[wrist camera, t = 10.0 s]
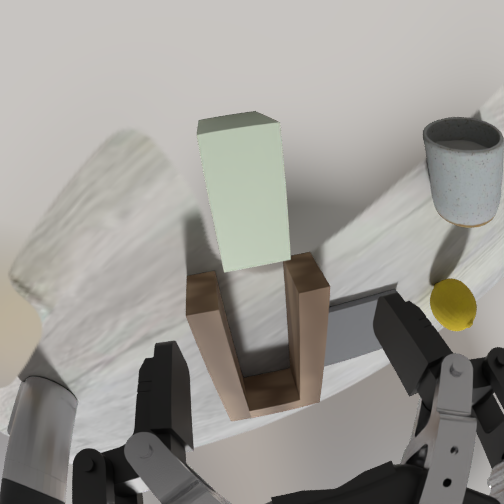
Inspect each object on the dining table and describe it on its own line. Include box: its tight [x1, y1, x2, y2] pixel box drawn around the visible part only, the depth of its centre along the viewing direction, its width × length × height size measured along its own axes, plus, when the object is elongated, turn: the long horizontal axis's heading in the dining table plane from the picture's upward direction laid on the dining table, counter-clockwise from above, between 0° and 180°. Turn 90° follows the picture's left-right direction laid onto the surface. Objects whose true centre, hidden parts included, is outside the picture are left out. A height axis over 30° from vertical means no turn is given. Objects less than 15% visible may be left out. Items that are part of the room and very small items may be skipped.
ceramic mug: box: [423, 117, 504, 228], centre depth 20 cm, size 11×8×8 cm
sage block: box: [197, 111, 291, 272], centre depth 18 cm, size 4×8×7 cm, turn 7°
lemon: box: [430, 279, 477, 331], centre depth 29 cm, size 6×6×8 cm
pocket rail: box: [186, 252, 330, 421], centre depth 29 cm, size 11×19×5 cm, turn 7°
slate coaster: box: [324, 289, 398, 366], centre depth 33 cm, size 10×10×1 cm
